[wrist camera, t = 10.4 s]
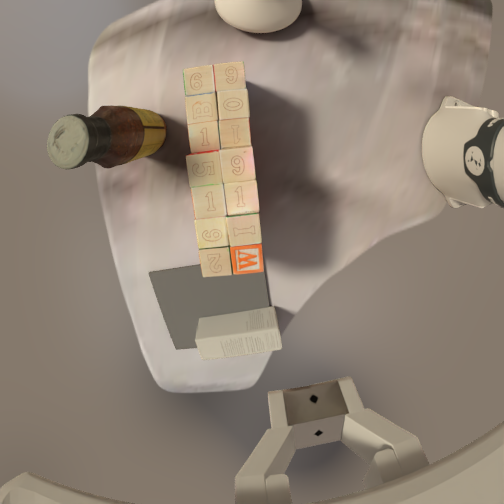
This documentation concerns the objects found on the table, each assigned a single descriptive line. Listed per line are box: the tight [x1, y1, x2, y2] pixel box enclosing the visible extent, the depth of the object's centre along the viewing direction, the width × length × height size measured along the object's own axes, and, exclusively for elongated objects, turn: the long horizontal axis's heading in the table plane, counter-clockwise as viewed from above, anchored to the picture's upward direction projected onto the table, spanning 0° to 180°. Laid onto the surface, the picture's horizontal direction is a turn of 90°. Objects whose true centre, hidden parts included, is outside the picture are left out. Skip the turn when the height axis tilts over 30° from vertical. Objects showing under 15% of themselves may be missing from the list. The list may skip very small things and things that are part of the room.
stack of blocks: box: [183, 62, 264, 277], centre depth 30 cm, size 21×6×12 cm, turn 5°
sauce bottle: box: [47, 106, 167, 169], centre depth 25 cm, size 7×6×20 cm
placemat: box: [149, 264, 270, 350], centre depth 44 cm, size 17×15×1 cm
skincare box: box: [195, 306, 282, 360], centre depth 42 cm, size 6×4×12 cm
